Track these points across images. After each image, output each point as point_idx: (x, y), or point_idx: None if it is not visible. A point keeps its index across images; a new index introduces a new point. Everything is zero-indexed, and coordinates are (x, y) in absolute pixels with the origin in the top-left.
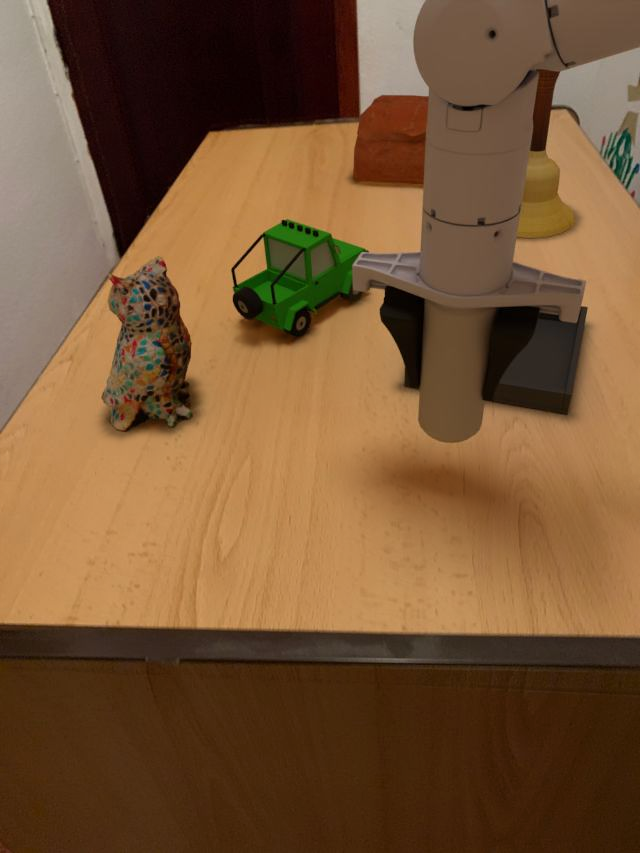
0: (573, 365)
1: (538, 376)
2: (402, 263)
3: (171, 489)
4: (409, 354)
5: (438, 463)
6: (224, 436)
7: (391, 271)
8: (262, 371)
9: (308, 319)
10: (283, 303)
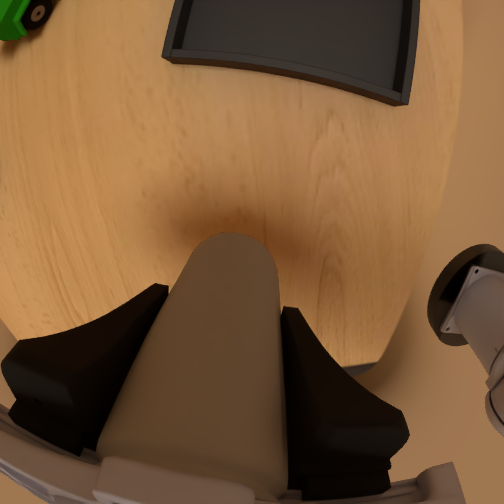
0: (412, 42)
1: (362, 34)
2: (21, 482)
3: (27, 267)
4: None
5: (233, 206)
6: (26, 200)
7: (29, 490)
8: (23, 91)
9: (44, 3)
10: (1, 26)
